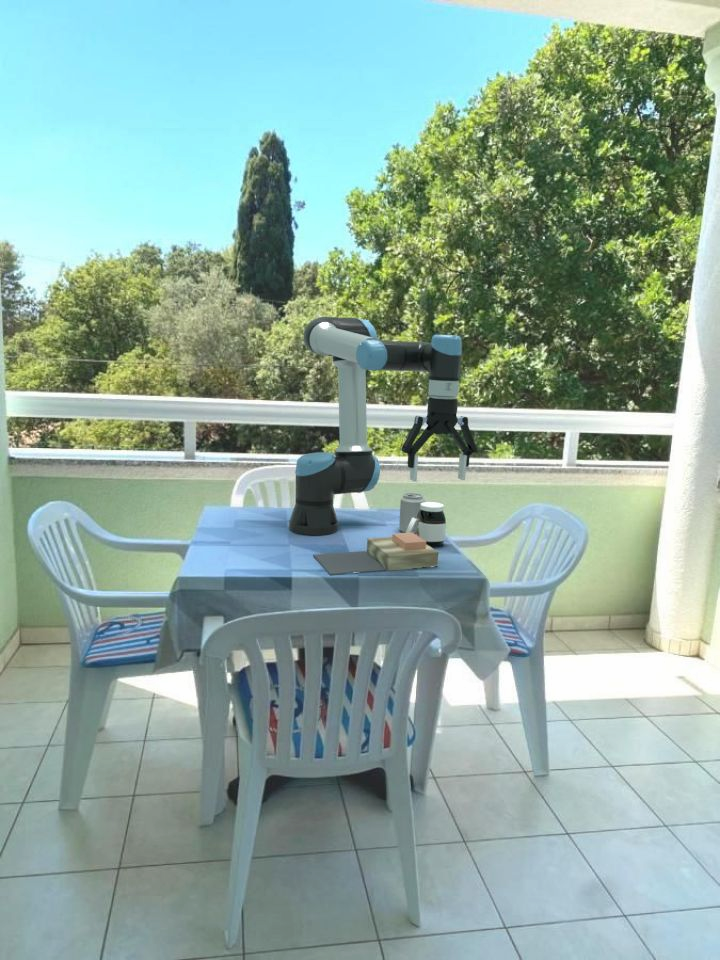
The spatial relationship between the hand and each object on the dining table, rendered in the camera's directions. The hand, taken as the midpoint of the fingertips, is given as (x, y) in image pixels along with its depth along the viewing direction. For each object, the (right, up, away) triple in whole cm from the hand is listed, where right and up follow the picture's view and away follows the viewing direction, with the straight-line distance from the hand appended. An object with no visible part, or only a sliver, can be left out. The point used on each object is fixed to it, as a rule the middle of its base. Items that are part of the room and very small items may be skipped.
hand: (437, 479), depth 174 cm
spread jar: (-1, -19, +26) cm, 32 cm away
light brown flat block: (-7, -18, +8) cm, 21 cm away
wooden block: (-9, -21, +8) cm, 25 cm away
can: (-4, -16, +36) cm, 40 cm away
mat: (-23, -22, +3) cm, 32 cm away
